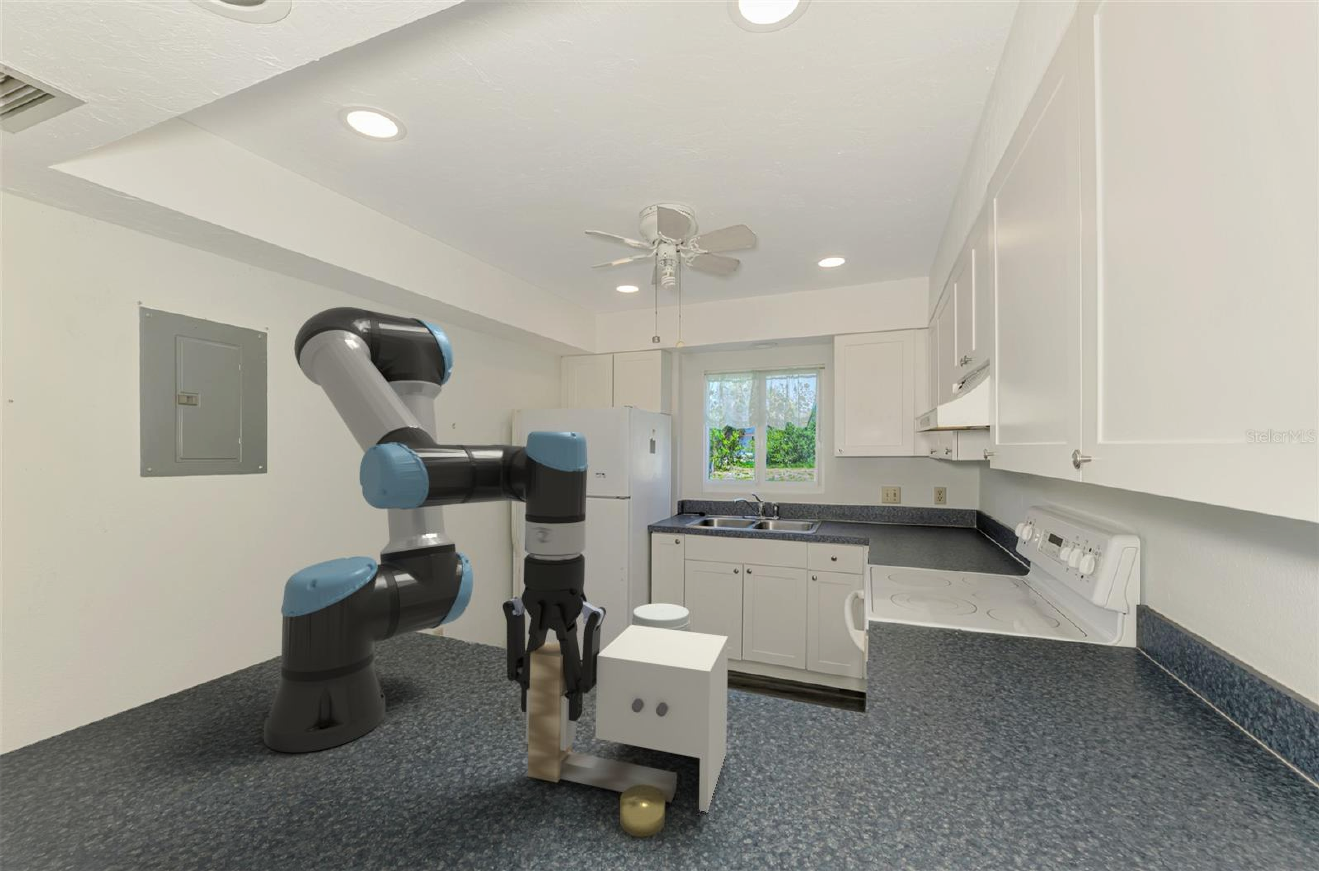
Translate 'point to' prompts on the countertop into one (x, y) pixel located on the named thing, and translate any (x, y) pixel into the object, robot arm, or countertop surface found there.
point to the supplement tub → (662, 617)
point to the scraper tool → (567, 764)
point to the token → (642, 810)
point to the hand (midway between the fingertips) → (550, 740)
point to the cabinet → (666, 696)
